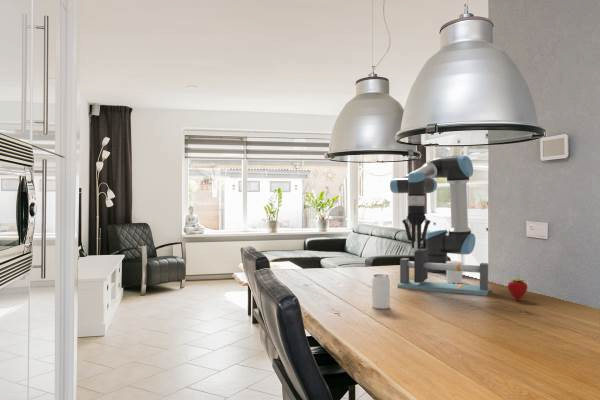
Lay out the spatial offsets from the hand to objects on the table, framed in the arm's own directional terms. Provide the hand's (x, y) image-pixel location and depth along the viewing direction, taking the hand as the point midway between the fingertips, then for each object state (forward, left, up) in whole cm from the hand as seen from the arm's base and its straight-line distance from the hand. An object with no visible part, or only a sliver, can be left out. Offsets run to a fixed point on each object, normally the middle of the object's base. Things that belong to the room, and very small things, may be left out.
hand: (416, 255), depth 211 cm
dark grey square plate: (0, +2, -11) cm, 12 cm away
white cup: (-19, +14, -15) cm, 28 cm away
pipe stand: (0, +12, -14) cm, 19 cm away
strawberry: (+10, +43, -15) cm, 47 cm away
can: (+48, -2, -15) cm, 50 cm away
